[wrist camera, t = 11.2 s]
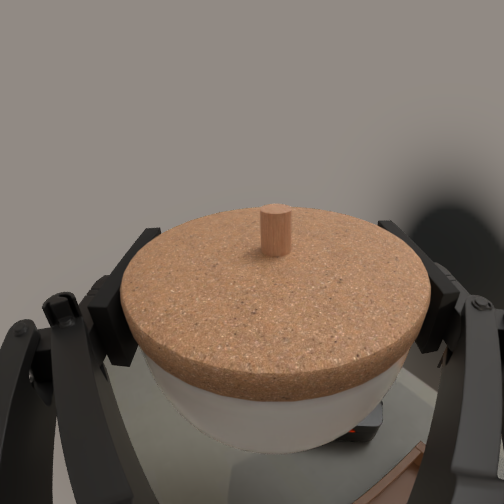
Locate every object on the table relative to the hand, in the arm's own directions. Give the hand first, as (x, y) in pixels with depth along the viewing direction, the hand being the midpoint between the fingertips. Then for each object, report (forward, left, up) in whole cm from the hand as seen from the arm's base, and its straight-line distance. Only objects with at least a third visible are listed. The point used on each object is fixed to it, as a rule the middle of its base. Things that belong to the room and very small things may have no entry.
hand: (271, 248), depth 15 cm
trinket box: (0, -4, -6) cm, 7 cm away
